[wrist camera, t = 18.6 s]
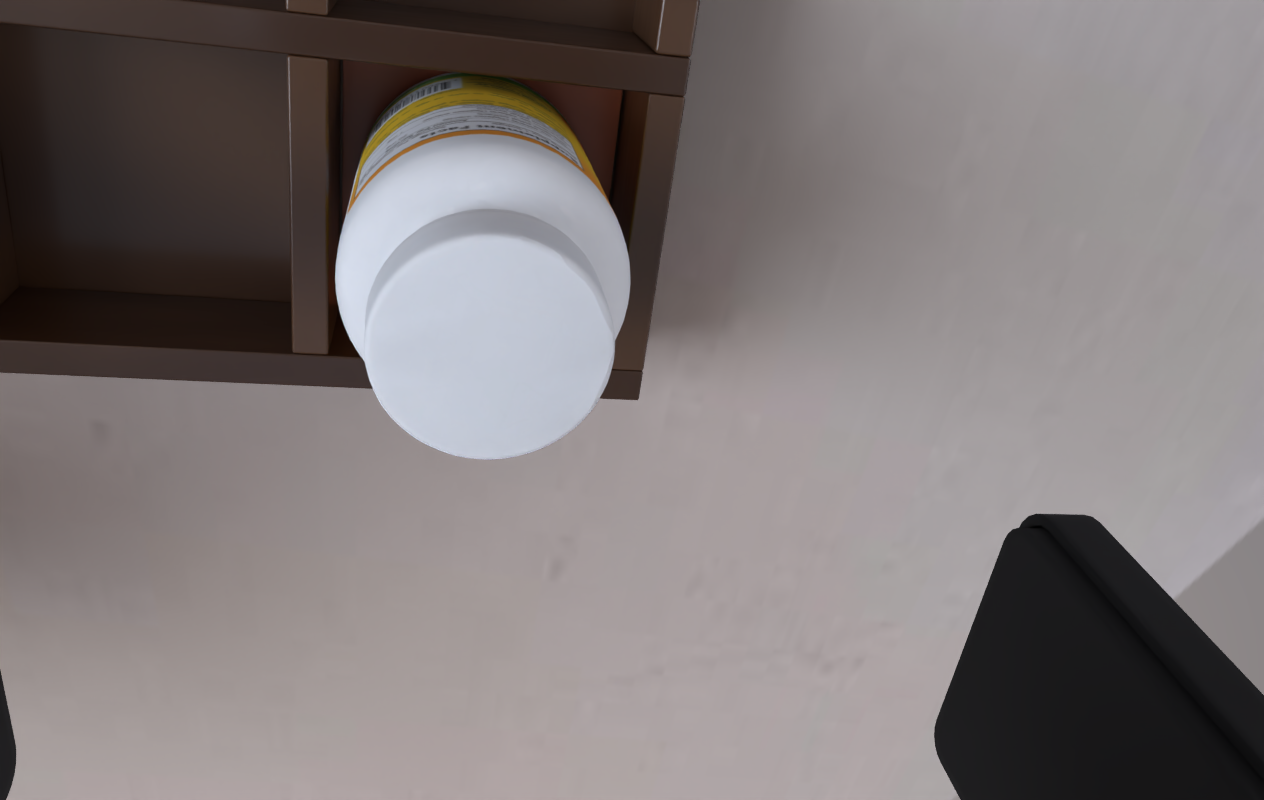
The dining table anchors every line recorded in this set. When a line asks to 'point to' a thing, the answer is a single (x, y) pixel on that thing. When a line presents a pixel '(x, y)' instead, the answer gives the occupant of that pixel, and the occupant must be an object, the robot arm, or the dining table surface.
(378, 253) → the supplement bottle
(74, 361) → the wooden compartment tray
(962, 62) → the dining table surface
